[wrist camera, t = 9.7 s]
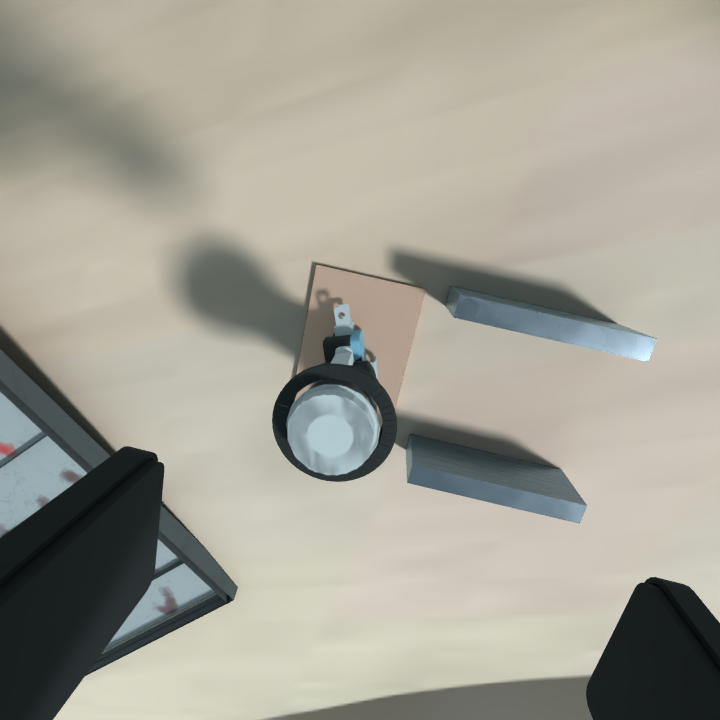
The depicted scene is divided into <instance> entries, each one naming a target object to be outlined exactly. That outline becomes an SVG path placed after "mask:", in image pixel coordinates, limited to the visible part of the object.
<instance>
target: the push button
mask: <svg viewBox="0 0 720 720" xmlns="http://www.w3.org/2000/svg"><path fill="white" fill-rule="evenodd" d="M340 312H343V313H344V314H345V316H342V315H341V314H340ZM334 314H335V321H336V326H334V332H335V333H334V334H333V336H330V337H326V338H325V339H324V341H323V351H324V357H325V363H322V364H320V365H317V366H313V367H310V368H308V369H305V370H304V371H302V372H300V373H299V374H297V375H296V376H294V377H293V378H292V379H291V380H290V381H289V382H288V383H287V384H286V385H285V387H284V388H283V389H282V391H281V392H280V394H279V396H278V398H277V400H276V402H275V406H274V410H273V417H272V424H273V432H274V436H275V439H276V441H277V444H278V446H279V448H280V450H281V451H282V453H283V454H284V456H285V457H286V458H287V459H288V460H289V461H290V462H291V463H292V464H293V465H294V466H295V467H296V468H298V469H299V470H301V471H302V472H304V473H306V474H308V475H310V476H312V477H315V478H318V479H321V480H326V481H335V482H341V481H349V480H354V479H358V478H360V477H363V476H365V475H367V474H369V473H371V472H372V471H374V470H375V469H376V468H377V467H379V466H380V465H381V464H382V463H383V462H384V460H385V459H386V458H387V457H388V455H389V453H390V452H391V449H392V447H393V445H394V442H395V438H396V431H397V418H396V412H395V408H394V405H393V403H392V400H391V398H390V396H389V394H388V393H387V391H386V390H385V389H384V387H383V386H382V385H381V384H380V383H379V381H378V364H377V357H376V356H375V360H374V362H369V361H367V360H366V353H365V345H364V338H363V331H362V330H355V325H354V321H353V322H351V315H350V308H349V305H348V304H342V305H337V306H336V307H335V308H334ZM311 383H313V384H312V385H311V387H310V388H309V389H308V390H307V391H305V392H304V393H303V394H302V395H301V396H300V397H299V398H298V399H297V400H296V401H295V398H296V395H297V393H298V392H299V391H300V390H302V389H303V388H304V387H306V386H308V385H309V384H311ZM377 406H378V408H379V410H380V413H381V416H382V422H383V423H382V427H381V429H380V424H379V421H378V418H377V415H376V413H377Z"/></svg>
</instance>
